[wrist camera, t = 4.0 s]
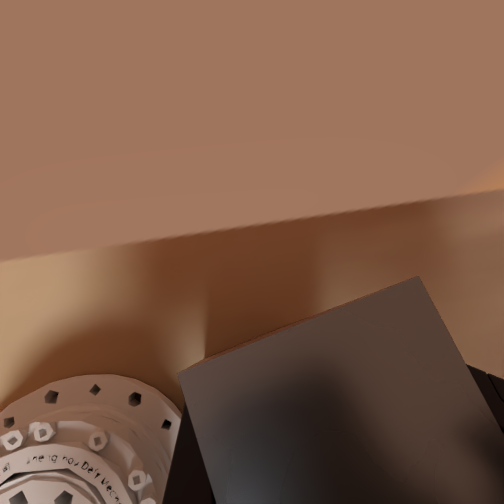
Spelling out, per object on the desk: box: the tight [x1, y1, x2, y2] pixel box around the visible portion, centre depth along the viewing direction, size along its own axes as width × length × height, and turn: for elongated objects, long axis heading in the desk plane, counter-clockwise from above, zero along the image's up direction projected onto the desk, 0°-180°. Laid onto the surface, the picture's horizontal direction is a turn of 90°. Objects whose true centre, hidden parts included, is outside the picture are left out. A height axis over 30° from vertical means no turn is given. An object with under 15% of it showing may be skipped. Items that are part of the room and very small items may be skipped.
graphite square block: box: [177, 276, 504, 504], centre depth 10 cm, size 4×4×11 cm
